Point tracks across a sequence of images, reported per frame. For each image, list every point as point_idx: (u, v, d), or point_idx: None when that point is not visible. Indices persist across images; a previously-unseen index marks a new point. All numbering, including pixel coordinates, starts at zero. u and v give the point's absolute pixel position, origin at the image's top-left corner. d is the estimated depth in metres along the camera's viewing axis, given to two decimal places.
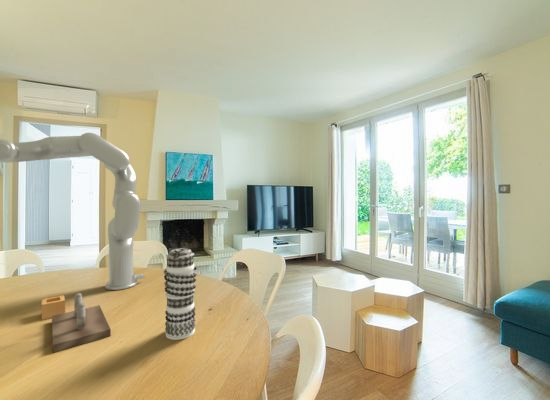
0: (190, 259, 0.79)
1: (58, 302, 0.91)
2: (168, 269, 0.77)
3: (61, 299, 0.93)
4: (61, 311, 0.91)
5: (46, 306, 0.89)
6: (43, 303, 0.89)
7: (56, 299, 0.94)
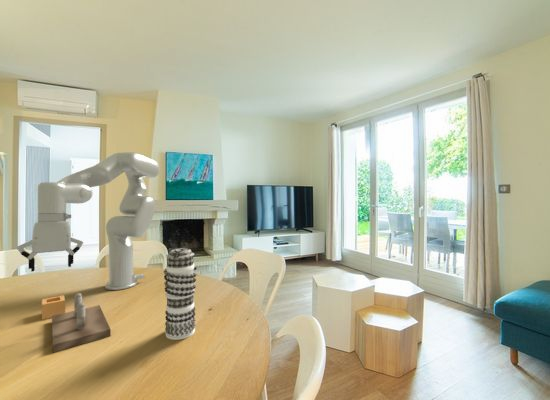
0: (190, 259, 0.79)
1: (58, 302, 0.91)
2: (168, 269, 0.77)
3: (61, 299, 0.93)
4: (61, 311, 0.91)
5: (46, 306, 0.89)
6: (43, 303, 0.89)
7: (56, 299, 0.94)
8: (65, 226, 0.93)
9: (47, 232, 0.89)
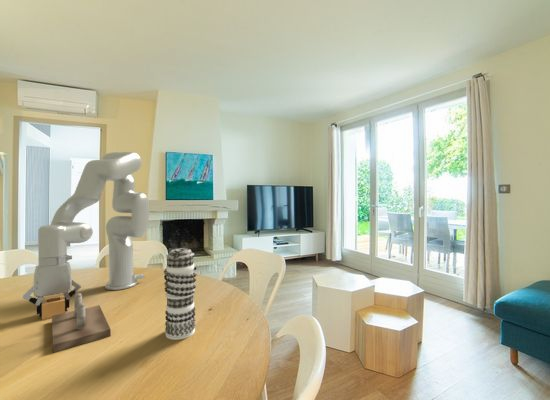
0: (190, 259, 0.79)
1: (58, 302, 0.91)
2: (168, 269, 0.77)
3: (61, 299, 0.93)
4: (61, 311, 0.91)
5: (46, 306, 0.89)
6: (43, 303, 0.89)
7: (56, 299, 0.94)
8: (66, 268, 0.93)
9: (48, 275, 0.89)
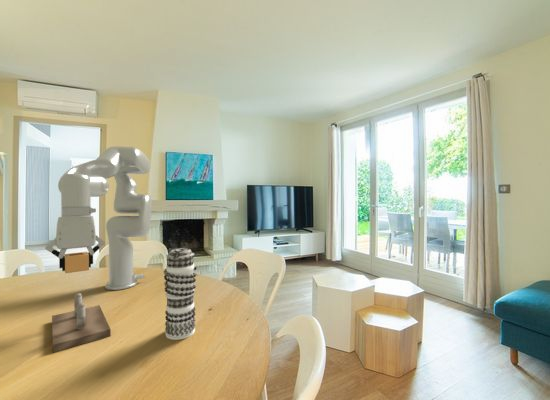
0: (190, 259, 0.79)
1: (82, 256, 0.85)
2: (168, 269, 0.77)
3: (85, 254, 0.86)
4: (84, 266, 0.85)
5: (69, 259, 0.83)
6: (66, 256, 0.83)
7: (79, 255, 0.88)
8: (90, 221, 0.87)
9: (71, 226, 0.83)
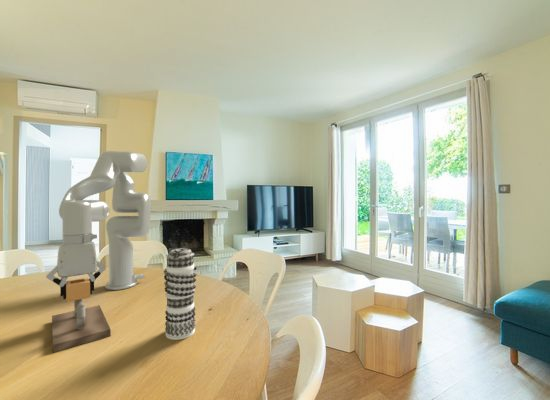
0: (190, 259, 0.79)
1: (83, 283, 0.85)
2: (168, 269, 0.77)
3: (86, 281, 0.86)
4: (86, 293, 0.85)
5: (71, 287, 0.83)
6: (67, 284, 0.83)
7: (80, 281, 0.88)
8: (91, 248, 0.87)
9: (72, 254, 0.83)
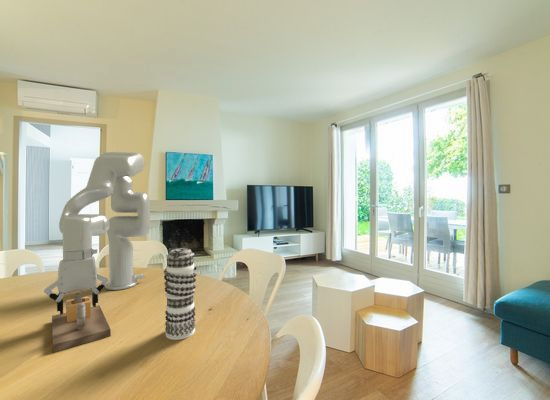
0: (190, 259, 0.79)
1: None
2: (168, 269, 0.77)
3: (86, 300, 0.87)
4: (86, 313, 0.85)
5: (71, 308, 0.83)
6: (68, 305, 0.83)
7: None
8: (92, 263, 0.87)
9: (73, 270, 0.83)
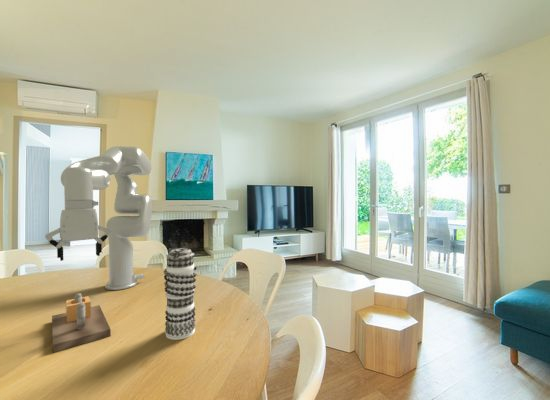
0: (190, 259, 0.79)
1: None
2: (168, 269, 0.77)
3: (86, 300, 0.87)
4: (86, 313, 0.85)
5: (71, 308, 0.83)
6: (68, 305, 0.83)
7: None
8: (93, 214, 0.88)
9: (75, 219, 0.85)
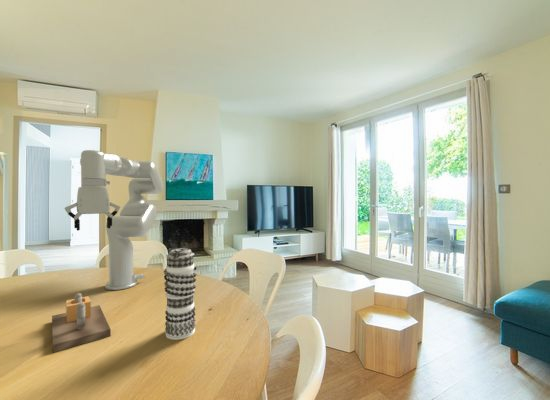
0: (190, 259, 0.79)
1: None
2: (168, 269, 0.77)
3: (86, 300, 0.87)
4: (86, 313, 0.85)
5: (71, 308, 0.83)
6: (68, 305, 0.83)
7: None
8: (105, 191, 1.02)
9: (90, 195, 0.98)
